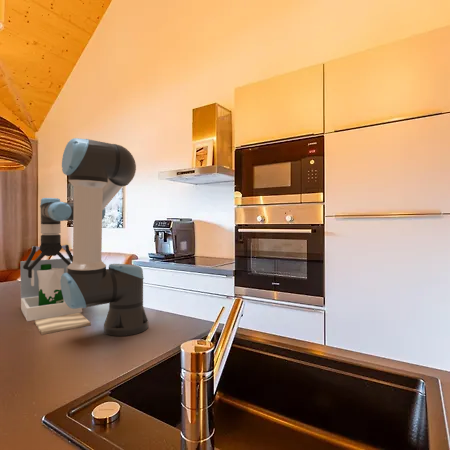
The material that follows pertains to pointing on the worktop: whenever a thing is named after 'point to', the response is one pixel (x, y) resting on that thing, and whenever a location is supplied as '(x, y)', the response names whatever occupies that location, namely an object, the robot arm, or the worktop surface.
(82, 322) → the wooden mat
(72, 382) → the worktop surface
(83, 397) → the worktop surface
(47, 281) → the soya milk
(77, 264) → the robot arm
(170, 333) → the worktop surface
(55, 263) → the equipment case
